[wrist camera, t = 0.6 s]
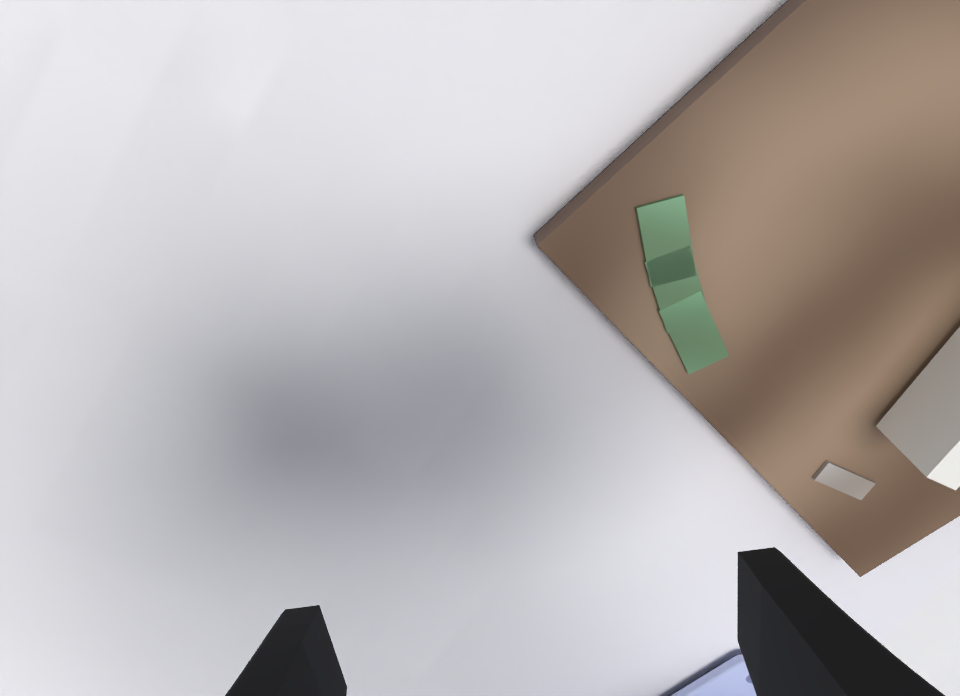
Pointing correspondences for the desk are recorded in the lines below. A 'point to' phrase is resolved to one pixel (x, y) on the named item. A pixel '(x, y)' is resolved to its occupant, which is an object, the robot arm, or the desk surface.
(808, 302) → the dial board
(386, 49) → the desk surface
